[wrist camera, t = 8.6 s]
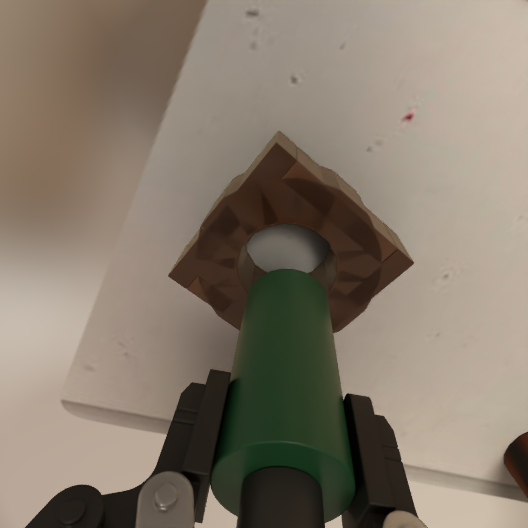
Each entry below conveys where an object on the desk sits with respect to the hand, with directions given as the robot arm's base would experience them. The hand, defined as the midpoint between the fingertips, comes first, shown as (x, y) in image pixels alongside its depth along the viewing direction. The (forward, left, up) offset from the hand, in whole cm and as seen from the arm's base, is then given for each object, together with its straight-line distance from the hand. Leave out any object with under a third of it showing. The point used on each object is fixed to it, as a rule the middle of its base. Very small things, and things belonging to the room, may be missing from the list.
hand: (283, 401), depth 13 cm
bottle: (0, 0, -6) cm, 6 cm away
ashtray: (0, 0, -13) cm, 13 cm away
